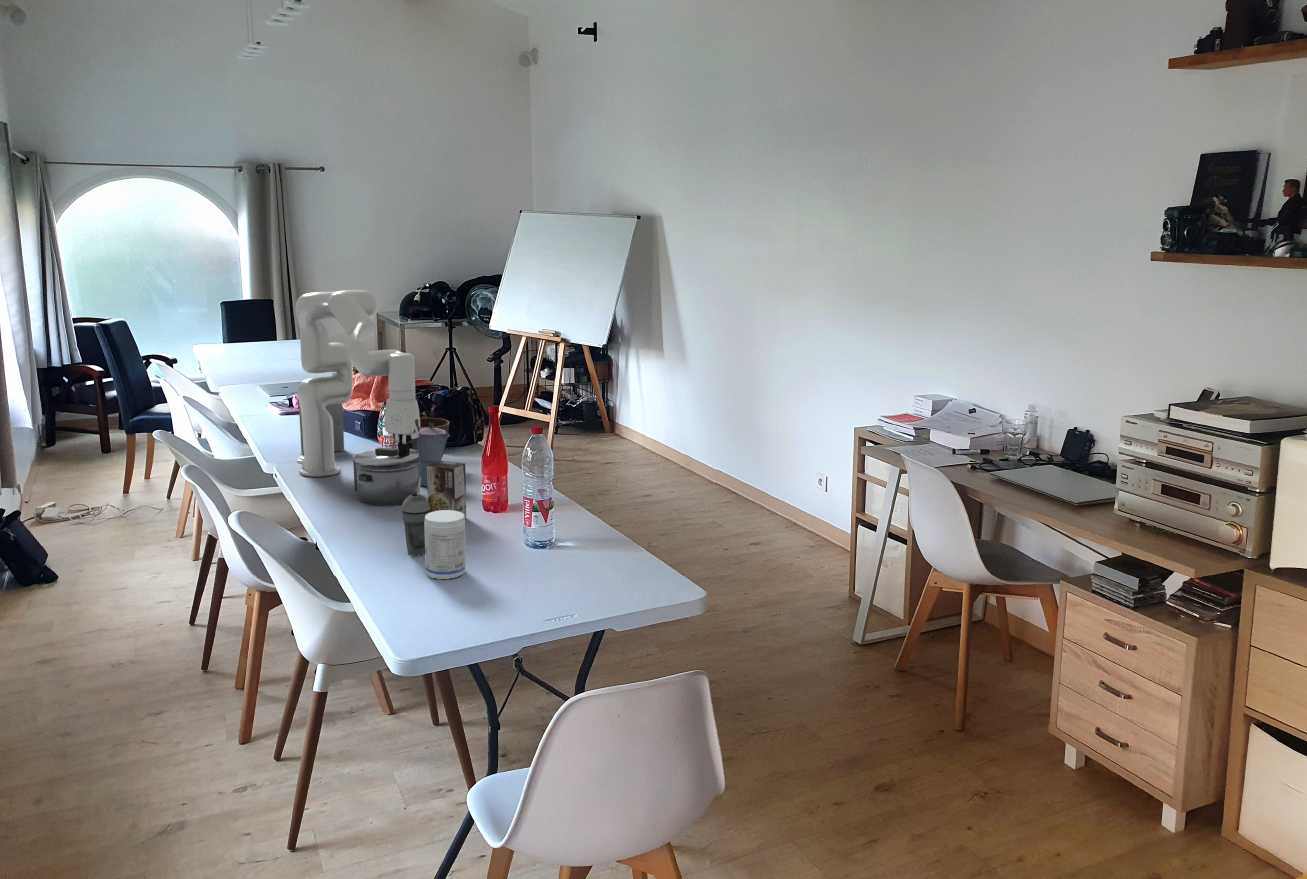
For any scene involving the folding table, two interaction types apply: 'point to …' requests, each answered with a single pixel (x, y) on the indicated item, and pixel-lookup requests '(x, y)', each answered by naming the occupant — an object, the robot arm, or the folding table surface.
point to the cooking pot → (386, 483)
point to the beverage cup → (415, 521)
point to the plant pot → (437, 424)
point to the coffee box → (446, 486)
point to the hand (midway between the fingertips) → (404, 455)
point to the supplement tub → (444, 544)
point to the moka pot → (429, 449)
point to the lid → (384, 457)
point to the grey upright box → (338, 432)
